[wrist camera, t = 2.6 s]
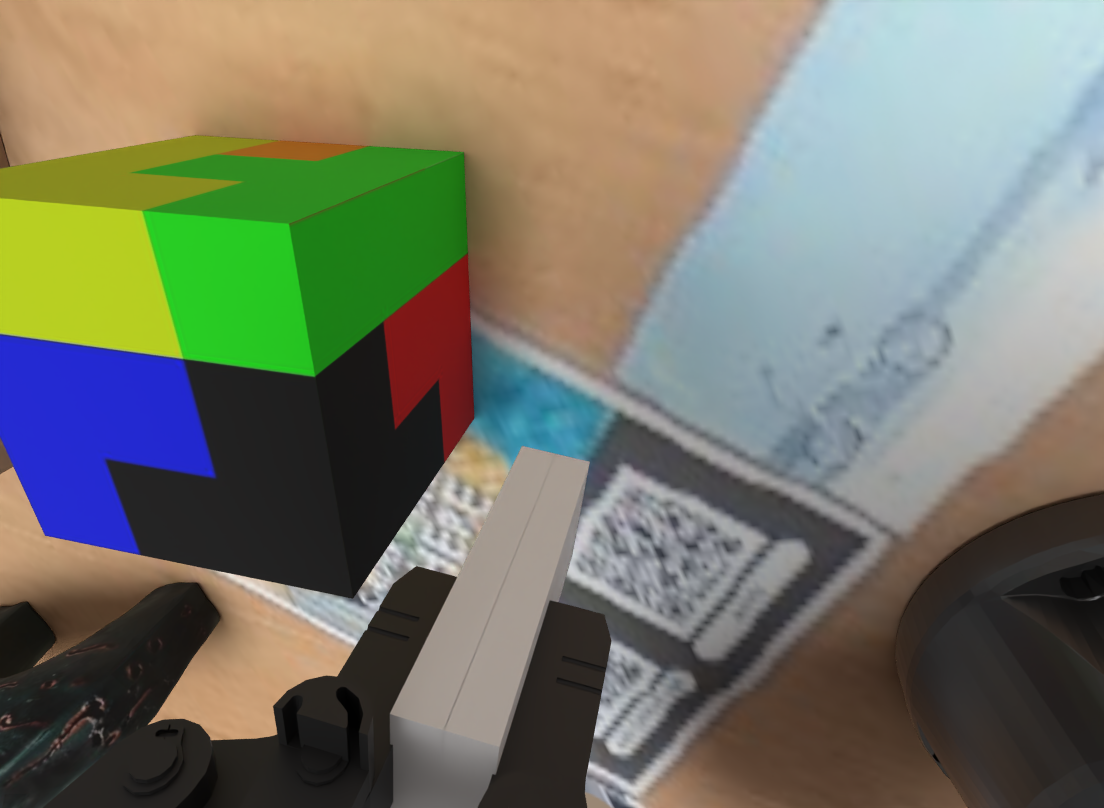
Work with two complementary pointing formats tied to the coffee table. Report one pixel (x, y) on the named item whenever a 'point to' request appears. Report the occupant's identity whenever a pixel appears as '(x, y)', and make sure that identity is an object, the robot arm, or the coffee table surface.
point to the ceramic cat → (88, 687)
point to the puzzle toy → (235, 349)
